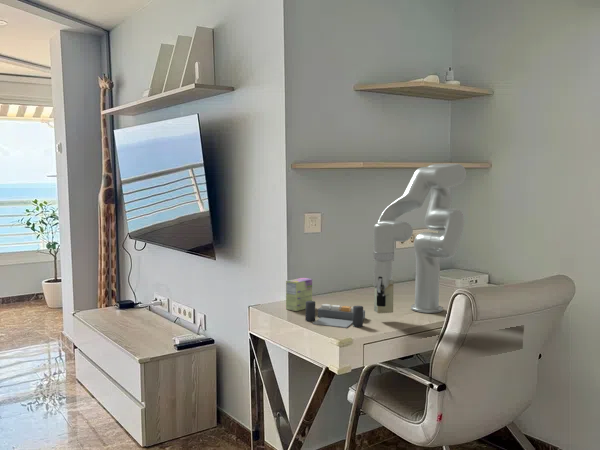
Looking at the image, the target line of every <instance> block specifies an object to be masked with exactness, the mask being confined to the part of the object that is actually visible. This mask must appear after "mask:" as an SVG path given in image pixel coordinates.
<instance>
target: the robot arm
mask: <svg viewBox="0 0 600 450" xmlns="http://www.w3.org/2000/svg"><path fill="white" fill-rule="evenodd" d="M466 177H467V170H466V168H465V167H464V165H462V164H460V163H432V164H429V165H428V166H425V167H424V166H421V167H418V168H417V169H416V170H414V173H413V174H412V176H411V178H410V180H409V182H408V184H407V186H406V188H405V190H404V192H403V193H402V194H401V196H400V197H399V198H397V199H396V200H394V201H392V203H391V204H389V205H388V206H386V208H385V209H383V211H382V213H381V215H380V216H379V219H378V220H377V223H375V224H374V225H373V261H374V267H373V288H376V287H377V306H383V307H385V306H386V296H385V288H387V287H388V286H389V281H390V280H393V263H392V262H394V261H395V242H406V241H409V240H410V239H411V238H412V236H413V232H414V230H413V227H412V225H411V224H410V223H408V221H407V222H406V221H399V220H397V219H398V218H400V217H402V216H403V215H405V214H407V213H411V212H413V211H416V210H419V209H420V208H422V206H423V204H424V203H425V200H426V199H427V196H428V195H429V193H430V198H429V203H428V206H427V210H426V213H425V216H424V226H425V228H426V229H428V230H430V231H437V232H429V231H427V232H426V231H424V232H420V233H418V234H417V235H416V236H415V237H414V241H413V248H414V254H415V282H414V287H415V288H414V303H413V304H411V305H410V309H411V310H412V311H414V312H418V313H424V314H437V313H442V312H443V306H441V305H440V303H439V301H440V275H441V272H440V271H441V267H440V266H441V265H440V263H439V260H438V258H440V259H451V258H453V257H455V255H456V253H457V252H458V248H459V244H460V241H461V237H462V233H463V230H464V226H465V216H464V214H463V211H461V210H460V209H458V208H454V207H453V208H451V205H452V199H453V198H452V193H451V192H450V188H453V187H458V186H460V185H461V184H463V183H464V182H465V180H466ZM439 232H444V233H439ZM381 286H384V287H381ZM381 289H383V291H382V290H381Z"/></svg>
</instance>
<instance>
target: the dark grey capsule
mask: <svg viewBox="0 0 600 450" xmlns="http://www.w3.org/2000/svg"><path fill="white" fill-rule="evenodd" d="M352 308H353V323H352V326H353V328H354V327H355V328H362V327H363V325H364V319H363V310H364V306H362V305H354V306H352Z"/></svg>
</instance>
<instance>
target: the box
mask: <svg viewBox="0 0 600 450" xmlns="http://www.w3.org/2000/svg"><path fill="white" fill-rule="evenodd" d="M306 301H313V279H312V278H308V277H299V278H295V279H290V280H289V279H288V280H285V309H286V310H288V311H293V312H298V311H301V310H306Z"/></svg>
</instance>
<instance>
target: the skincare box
mask: <svg viewBox="0 0 600 450" xmlns="http://www.w3.org/2000/svg"><path fill="white" fill-rule="evenodd" d="M394 282H395V281H394V280H393V279H392V280H390V281H389V286H388V287H387V288H385V296H386V306H385V307H383V306H377V287H376V288H374V287H373V288H374V289H373V290H374V295H373V299H374V301H373V311H374V312H375V313H377V314H391V313H394V285H395V284H394ZM381 287H384V286H381ZM381 290H382V291H383V289H381Z"/></svg>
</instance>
